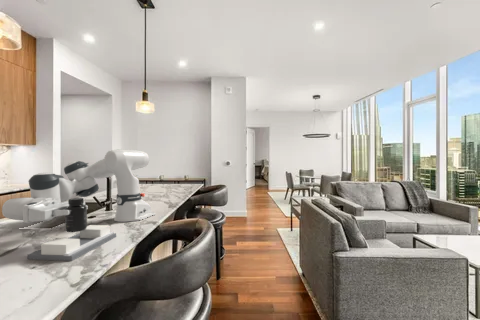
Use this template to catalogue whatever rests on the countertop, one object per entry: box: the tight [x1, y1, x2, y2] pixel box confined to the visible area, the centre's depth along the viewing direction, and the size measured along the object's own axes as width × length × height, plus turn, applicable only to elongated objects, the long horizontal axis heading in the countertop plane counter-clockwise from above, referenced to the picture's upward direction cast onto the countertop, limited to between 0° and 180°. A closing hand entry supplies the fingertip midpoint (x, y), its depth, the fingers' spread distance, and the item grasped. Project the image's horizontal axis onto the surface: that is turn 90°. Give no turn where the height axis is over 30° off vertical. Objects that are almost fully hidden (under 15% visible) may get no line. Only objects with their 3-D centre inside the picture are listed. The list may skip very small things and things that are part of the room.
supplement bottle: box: [64, 197, 88, 233], centre depth 90 cm, size 7×7×12 cm
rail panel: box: [27, 224, 117, 262], centre depth 91 cm, size 24×16×5 cm, turn 175°
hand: (78, 209), depth 90 cm, fingers closed on supplement bottle, 7 cm apart
